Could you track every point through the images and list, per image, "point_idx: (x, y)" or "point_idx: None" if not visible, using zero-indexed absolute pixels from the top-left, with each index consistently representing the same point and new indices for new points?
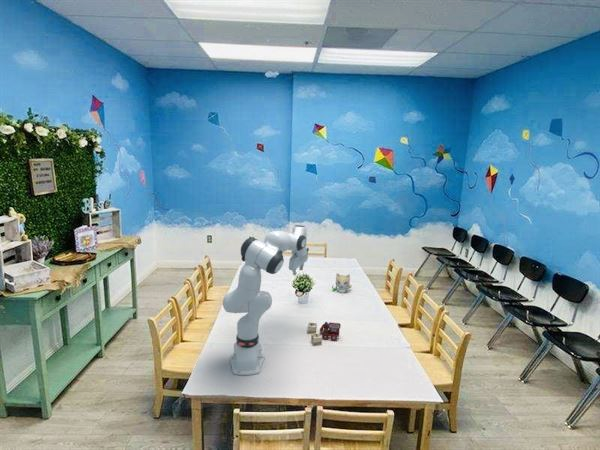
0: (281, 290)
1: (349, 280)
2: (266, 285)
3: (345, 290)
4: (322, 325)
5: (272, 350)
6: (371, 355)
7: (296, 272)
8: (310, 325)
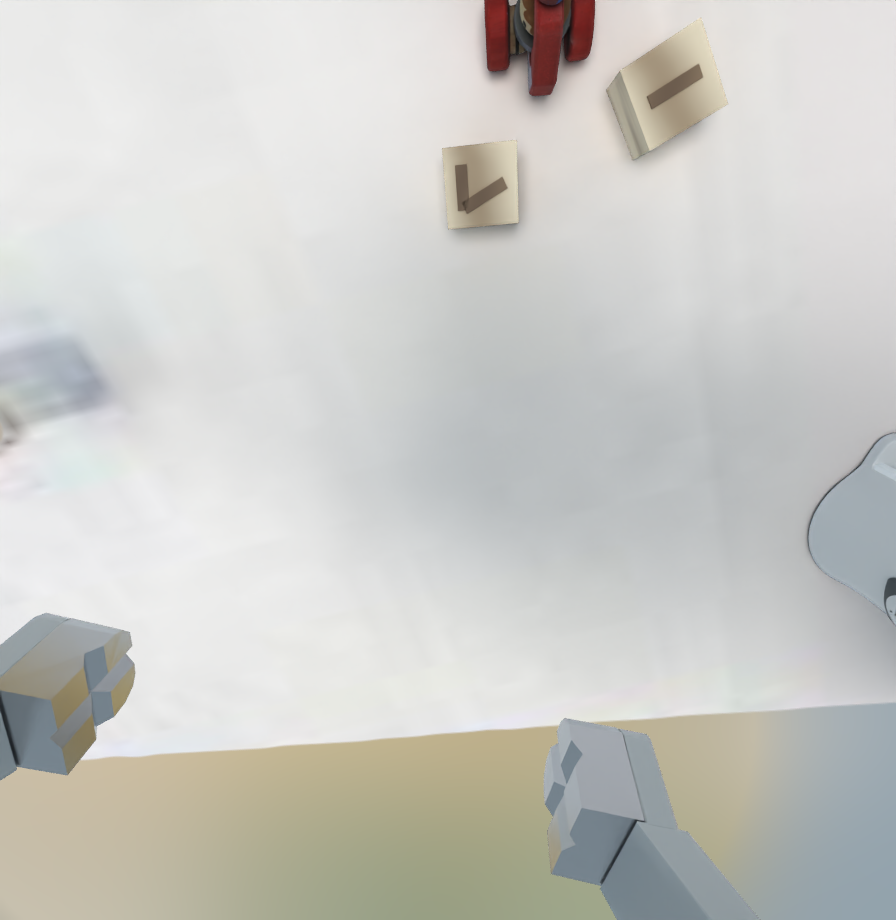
0: (11, 546)
1: None
2: None
3: None
4: (555, 38)
5: (793, 410)
6: None
7: (593, 801)
8: (496, 200)
